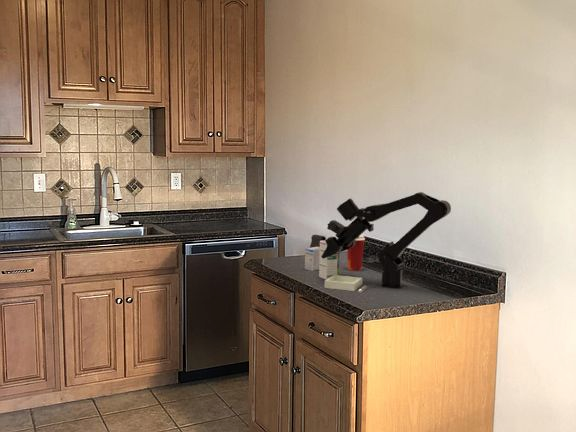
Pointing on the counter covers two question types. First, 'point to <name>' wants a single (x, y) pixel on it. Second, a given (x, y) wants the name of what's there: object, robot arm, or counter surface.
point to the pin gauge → (362, 289)
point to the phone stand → (316, 240)
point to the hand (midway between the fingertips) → (326, 256)
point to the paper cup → (356, 254)
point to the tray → (343, 282)
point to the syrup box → (328, 263)
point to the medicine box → (312, 258)
